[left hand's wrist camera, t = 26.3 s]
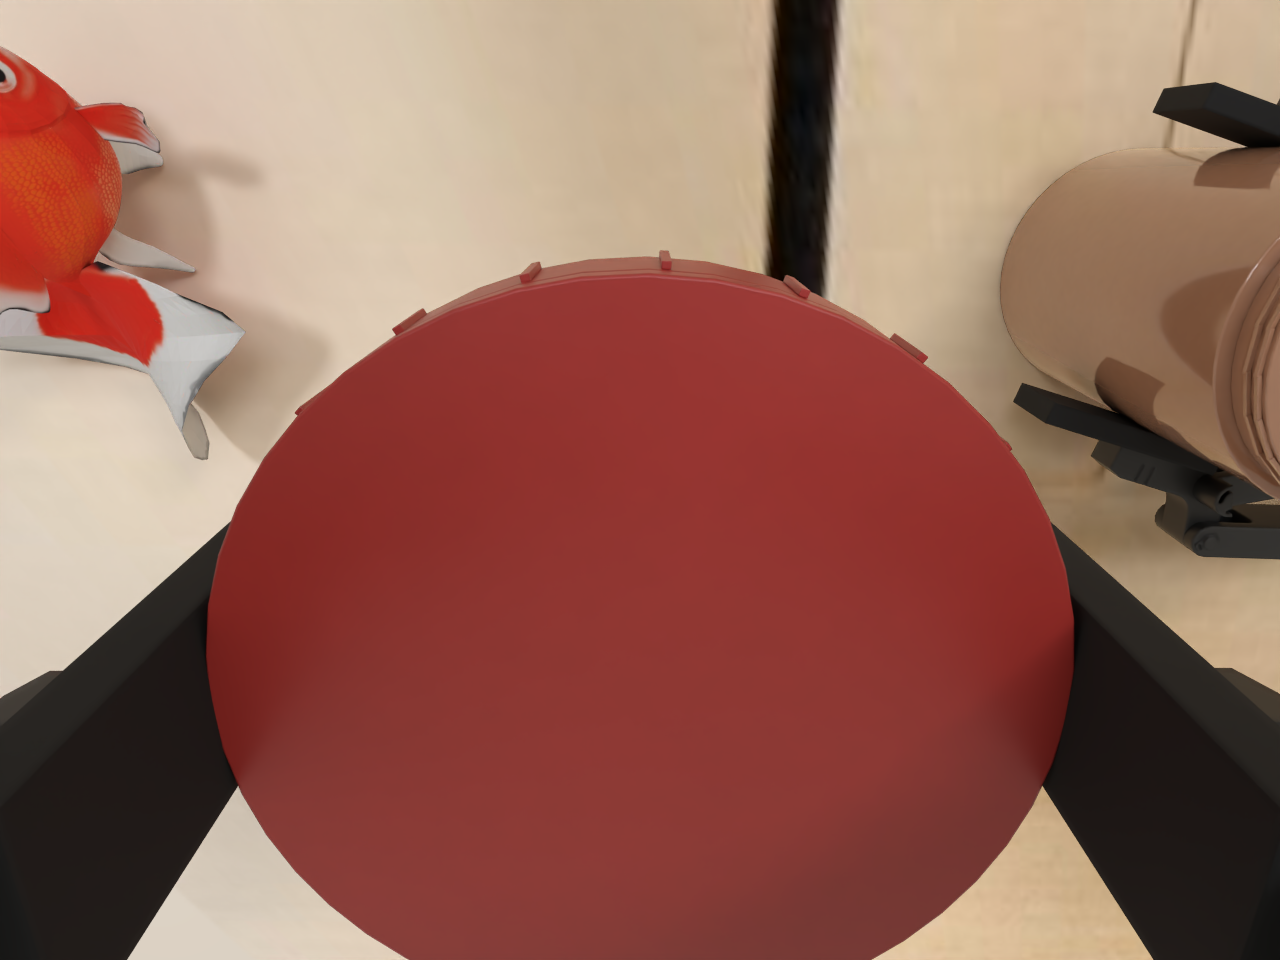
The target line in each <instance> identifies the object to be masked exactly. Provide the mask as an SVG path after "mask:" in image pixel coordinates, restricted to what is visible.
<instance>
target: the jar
mask: <svg viewBox="0 0 1280 960" xmlns="http://www.w3.org/2000/svg"><path fill="white" fill-rule="evenodd" d="M1000 292H1001V306H1002V312H1003V317H1004V320H1005V323H1006V326H1007V329H1008V332H1009V334H1010V336H1011V338H1012V340H1013V342H1014V344H1015V345H1016V346H1017V348H1018V349H1019V351H1020V352H1021V353H1022V355H1023V356H1024V357H1025V358H1026V359H1027V360H1028V361H1029V362H1030V363H1031V364H1032V365H1034V366H1035V367H1036V368H1038V369H1039V370H1040V371H1042V372H1043V373H1045V374H1047V375H1049V376H1051V377H1052V378H1054V379H1056V380H1058V381H1060V382H1062V383H1064V384H1065V385H1067V386H1069V387H1071V388H1073V389H1075V390H1076V391H1078V392H1080V393H1082V394H1084V395H1086V396H1087V397H1089V398H1091V399H1093V400H1095V401H1097V402H1099V403H1100V404H1102V405H1104V406H1106V407H1108V408H1110V409H1111V410H1113V411H1115V412H1117V413H1119V414H1121V415H1122V416H1124V417H1126V418H1128V419H1130V420H1132V421H1134V422H1135V423H1137V424H1139V425H1141V426H1143V427H1145V428H1146V429H1148V430H1150V431H1152V432H1154V433H1156V434H1157V435H1159V436H1161V437H1163V438H1165V439H1167V440H1169V441H1170V442H1172V443H1174V444H1176V445H1178V446H1180V447H1181V448H1183V449H1185V450H1187V451H1189V452H1191V453H1192V454H1194V455H1196V456H1198V457H1200V458H1202V459H1203V460H1205V461H1207V462H1209V463H1211V464H1213V465H1215V466H1216V467H1218V468H1220V469H1222V470H1224V471H1226V472H1227V473H1229V474H1231V475H1233V476H1235V477H1237V478H1238V479H1240V480H1242V481H1244V482H1246V483H1248V484H1250V485H1251V486H1253V487H1255V488H1257V489H1259V490H1261V491H1262V492H1264V493H1266V494H1268V495H1270V496H1272V497H1273V498H1275V499H1277V500H1279V501H1280V147H1209V148H1138V149H1126V150H1121V151H1115V152H1111V153H1108V154H1105V155H1102V156H1099V157H1096V158H1093V159H1091V160H1089V161H1087V162H1085V163H1083V164H1081V165H1079V166H1077V167H1076V168H1074V169H1072V170H1071V171H1069V172H1068V173H1066V174H1064V175H1063V176H1062V177H1061V178H1059V179H1058V180H1057V181H1056V182H1054V183H1053V184H1052V185H1051V186H1050V187H1049V188H1048V189H1047V190H1046V191H1045V192H1044V193H1043V194H1042V195H1041V196H1040V197H1039V198H1038V199H1037V200H1036V201H1035V202H1034V204H1033V205H1032V206H1031V207H1030V209H1029V210H1028V211H1027V213H1026V214H1025V216H1024V217H1023V219H1022V221H1021V222H1020V224H1019V225H1018V227H1017V229H1016V231H1015V233H1014V235H1013V237H1012V239H1011V242H1010V244H1009V247H1008V250H1007V253H1006V256H1005V260H1004V264H1003V269H1002V275H1001V286H1000Z"/></svg>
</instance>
